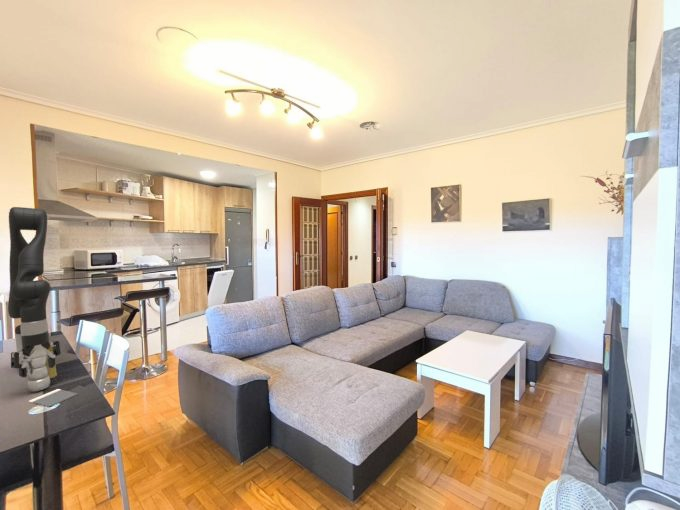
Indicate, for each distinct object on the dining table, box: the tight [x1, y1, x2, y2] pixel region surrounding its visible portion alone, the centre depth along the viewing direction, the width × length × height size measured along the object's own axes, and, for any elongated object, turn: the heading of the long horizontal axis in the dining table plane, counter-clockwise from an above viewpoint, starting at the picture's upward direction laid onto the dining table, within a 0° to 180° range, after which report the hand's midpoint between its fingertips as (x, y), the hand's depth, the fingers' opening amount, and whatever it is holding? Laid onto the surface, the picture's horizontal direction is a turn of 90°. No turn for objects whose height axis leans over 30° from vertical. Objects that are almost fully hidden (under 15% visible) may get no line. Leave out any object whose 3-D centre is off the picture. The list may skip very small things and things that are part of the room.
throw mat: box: [28, 388, 79, 408], centre depth 113 cm, size 12×9×1 cm
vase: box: [47, 345, 58, 379], centre depth 130 cm, size 6×6×14 cm
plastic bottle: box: [25, 345, 51, 393], centre depth 119 cm, size 6×7×20 cm
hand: (38, 372), depth 119 cm, fingers open, 8 cm apart
